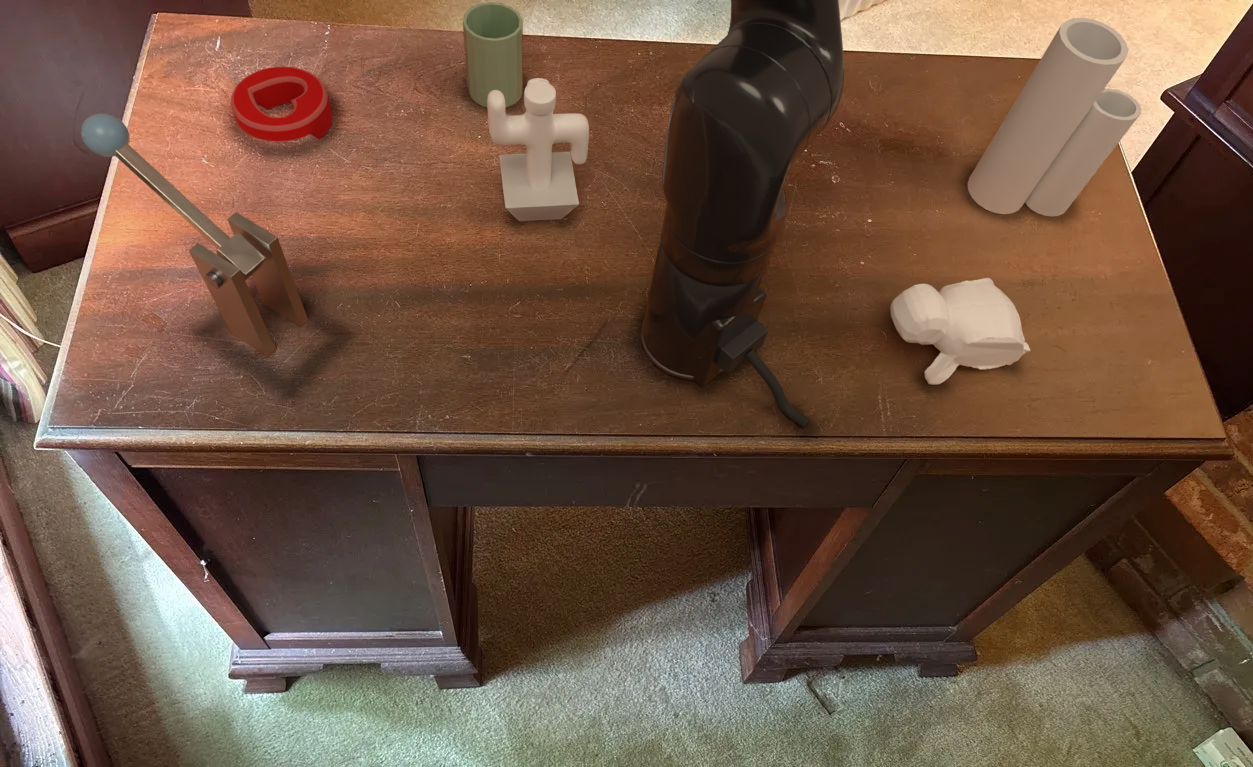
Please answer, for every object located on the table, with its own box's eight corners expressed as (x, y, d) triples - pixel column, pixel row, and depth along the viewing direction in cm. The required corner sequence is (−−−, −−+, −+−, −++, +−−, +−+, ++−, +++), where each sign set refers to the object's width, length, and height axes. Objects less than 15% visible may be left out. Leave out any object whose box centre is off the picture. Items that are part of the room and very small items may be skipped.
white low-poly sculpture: (959, 323, 92) (851, 304, 85) (1022, 274, 86) (911, 248, 78) (990, 394, 88) (879, 379, 80) (1059, 347, 81) (945, 327, 74)
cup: (533, 93, 99) (534, 24, 92) (491, 116, 97) (488, 48, 89) (499, 64, 101) (496, -5, 94) (457, 86, 99) (451, 16, 91)
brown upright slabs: (203, 334, 79) (151, 241, 68) (260, 284, 82) (219, 188, 71) (288, 389, 77) (248, 303, 66) (342, 336, 80) (313, 245, 69)
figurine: (587, 228, 90) (598, 114, 77) (495, 233, 88) (489, 118, 75) (578, 176, 93) (587, 59, 81) (489, 180, 92) (483, 62, 79)
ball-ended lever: (71, 140, 67) (69, 121, 65) (105, 117, 69) (105, 98, 66) (236, 289, 71) (241, 277, 68) (264, 264, 73) (271, 251, 70)
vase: (975, 214, 96) (1072, 63, 79) (960, 165, 100) (1049, 12, 83) (1072, 217, 97) (1188, 69, 80) (1053, 169, 101) (1160, 19, 84)
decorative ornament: (239, 91, 95) (230, 66, 92) (331, 86, 97) (325, 62, 94) (236, 154, 90) (227, 131, 88) (333, 148, 92) (327, 125, 89)
